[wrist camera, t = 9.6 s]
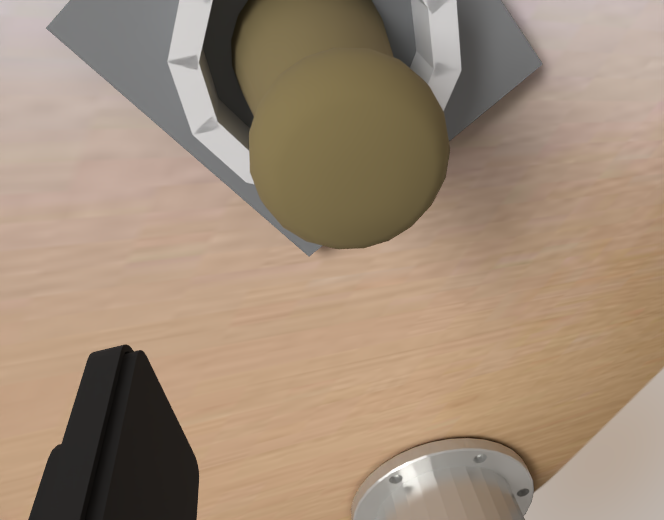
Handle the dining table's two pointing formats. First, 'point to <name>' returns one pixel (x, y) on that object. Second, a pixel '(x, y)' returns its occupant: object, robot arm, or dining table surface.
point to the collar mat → (224, 91)
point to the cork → (336, 122)
